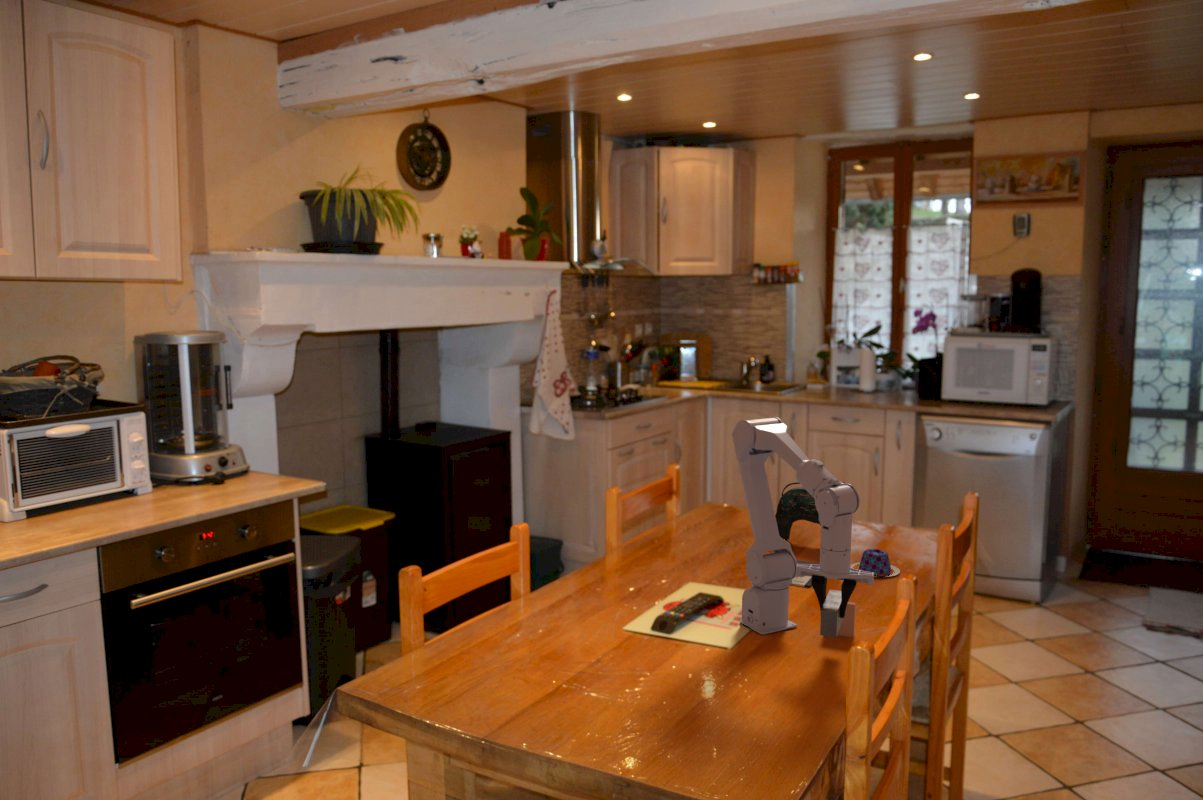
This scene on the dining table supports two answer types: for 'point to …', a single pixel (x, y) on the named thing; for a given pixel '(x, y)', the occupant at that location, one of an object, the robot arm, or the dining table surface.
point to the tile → (848, 621)
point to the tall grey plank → (831, 614)
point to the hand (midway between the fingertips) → (832, 615)
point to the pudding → (876, 563)
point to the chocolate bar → (803, 577)
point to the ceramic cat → (795, 509)
